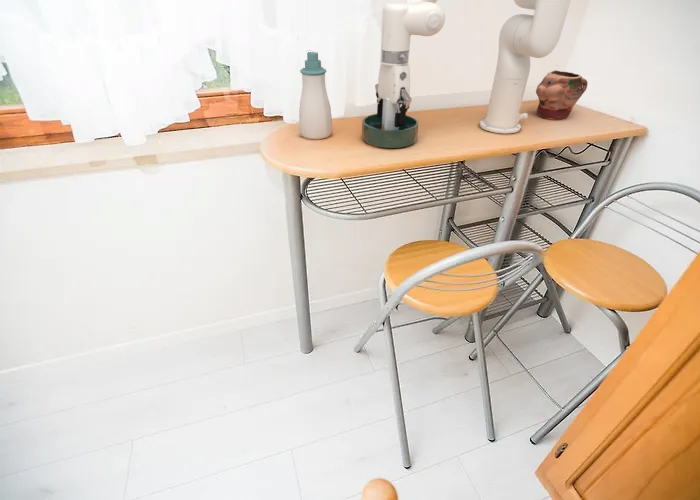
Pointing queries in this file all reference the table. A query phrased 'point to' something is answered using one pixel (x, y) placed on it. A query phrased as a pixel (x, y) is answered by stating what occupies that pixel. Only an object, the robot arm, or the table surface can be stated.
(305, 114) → the soap bottle
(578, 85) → the decorative planter
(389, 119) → the cosmetic box
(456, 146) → the table surface
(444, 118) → the table surface
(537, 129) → the table surface
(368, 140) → the bowl
